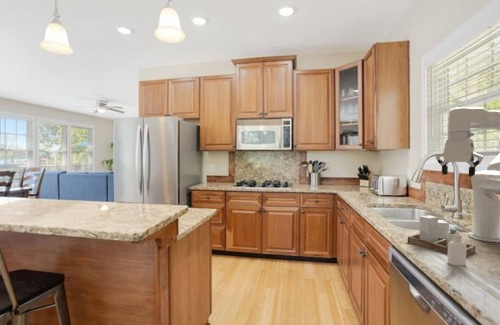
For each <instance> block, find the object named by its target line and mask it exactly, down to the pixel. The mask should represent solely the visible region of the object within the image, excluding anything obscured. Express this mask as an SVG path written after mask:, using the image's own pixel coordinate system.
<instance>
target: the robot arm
mask: <svg viewBox="0 0 500 325" xmlns="http://www.w3.org/2000/svg"><path fill="white" fill-rule="evenodd" d="M447 120H448V122H447V123H448V128H447V139H446V140H445V144H444V148H443V153H440V154H438V155H436V156H435V159H436V161H437V163H439V165H440V166H441V173H442V176H443V175H444V176H446V175H448V171H449V169H448V168H449V167H448V164H449V163H466V164H468V165H469V167H468V177H471V178H470V181H471V182H470V184H471V186H472V195H473V196H472V199H473V200H472V201H473V205H472V228H471V229H472V231H470V232H468V233H467V235H468V237H470V238H472V239H474V240H477V241H481V242H486V243H487V242H488V243H500V198H499V196H498V195H497V194H500V153H499V154H498V155H497V156H496V157H495V158H494V159H493V160H492V161H491V162H490V163H489V164H488V165H487V167H486V170H481V171H480V170H479V171H476V167H477V166H478V165H480V164H481V163H482V161H483V160H484V159H485V157H484V156H483V155H481V154H480V153H479V154H478V153H476V152H475V146H474V140H473V139H472V137H474V136H475V133H474V132H472V131H471V129H481V130H482V129H483V130H484V129H485V130H496V131H497V130H498V131H500V110H494V109H492V110H488V109H486V108H485V107H481V106H480V107H467V106H465V107H464V106H462V107H454V108H451V109H450V110H449V111H448V117H447ZM498 146H499V149H500V137H499V138H498ZM442 157H443V160H442ZM475 158H476V159H477V160H476V161H475Z"/></svg>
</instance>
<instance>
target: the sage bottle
mask: <svg viewBox="0 0 500 325" xmlns="http://www.w3.org/2000/svg"><path fill="white" fill-rule="evenodd" d="M456 231H458V229H456V228H449V232H447V238H446V239H447V245H446V247H448V243H449V242H450V241H453V234H456ZM459 234H460V235H461V236H462V234H461V233H459Z"/></svg>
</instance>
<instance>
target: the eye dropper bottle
mask: <svg viewBox="0 0 500 325" xmlns="http://www.w3.org/2000/svg"><path fill="white" fill-rule="evenodd" d="M460 234H461V233H460V232H459V231H458V230H457V231H456V234H453V241H450V242H449V243H448V254H447V264H449V265H452V266H455V267H461V266H462V267H463V266H465V265H466V264H467V256H466V244H467V243H465V242H464V241H463V240H462V238H463V237H462V234H461V235H460Z"/></svg>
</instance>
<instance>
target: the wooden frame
mask: <svg viewBox="0 0 500 325" xmlns="http://www.w3.org/2000/svg"><path fill="white" fill-rule="evenodd" d="M407 243H409V244H413V245H414V246H415V245H416V246H419V247H423V248H427V249H429V250H432V251H436V252H440V253H444V254H447V255H448V247H447V238H441V237H438V241H437V242H434V243H431V242H427V241H424V240H420V232H419V233H416V234H412V235H409V236H407ZM465 244H466V257H468V256H470V255H472V254H474V253H476V245H473V244H468V243H465Z"/></svg>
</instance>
